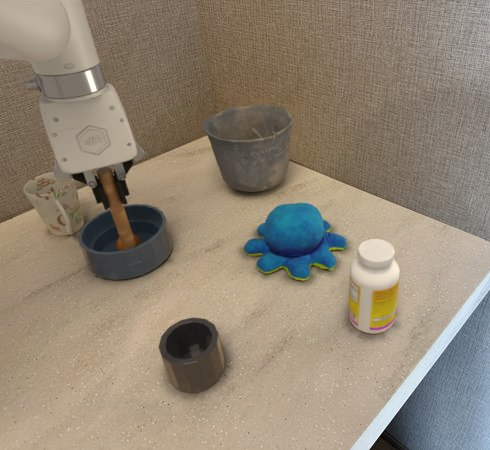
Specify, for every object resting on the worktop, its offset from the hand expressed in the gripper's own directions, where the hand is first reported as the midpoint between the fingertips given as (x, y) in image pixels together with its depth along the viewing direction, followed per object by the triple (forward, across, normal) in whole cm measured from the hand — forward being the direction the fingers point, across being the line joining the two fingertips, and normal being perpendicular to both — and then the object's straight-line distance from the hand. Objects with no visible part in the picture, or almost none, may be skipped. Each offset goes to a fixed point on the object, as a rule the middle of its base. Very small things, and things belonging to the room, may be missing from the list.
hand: (114, 201), depth 67 cm
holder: (+14, +3, -24) cm, 28 cm away
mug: (+14, -9, +18) cm, 25 cm away
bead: (+11, 0, +4) cm, 12 cm away
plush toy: (+14, +26, -8) cm, 31 cm away
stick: (+9, 0, 0) cm, 9 cm away
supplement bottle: (+14, +28, -28) cm, 42 cm away
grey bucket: (+14, +28, +15) cm, 35 cm away
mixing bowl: (+14, 0, +5) cm, 15 cm away
